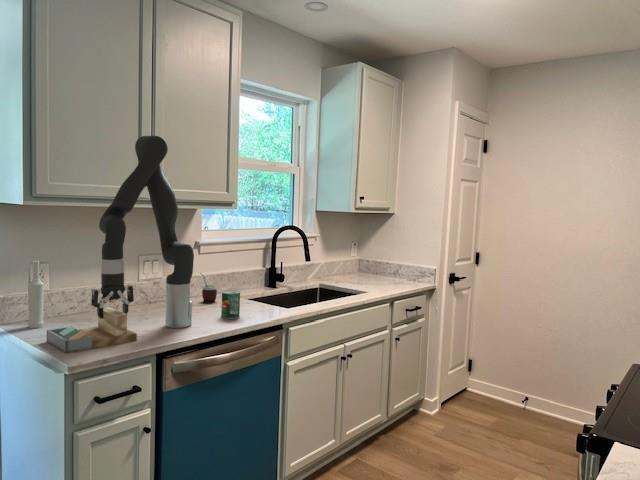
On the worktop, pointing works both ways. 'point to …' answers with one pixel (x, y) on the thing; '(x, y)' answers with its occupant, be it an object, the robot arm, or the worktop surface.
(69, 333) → the tile
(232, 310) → the canned tomato
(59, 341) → the box
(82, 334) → the tile
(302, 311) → the worktop surface
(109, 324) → the cream wooden beam
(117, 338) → the board
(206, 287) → the mate gourd
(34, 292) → the bottle
